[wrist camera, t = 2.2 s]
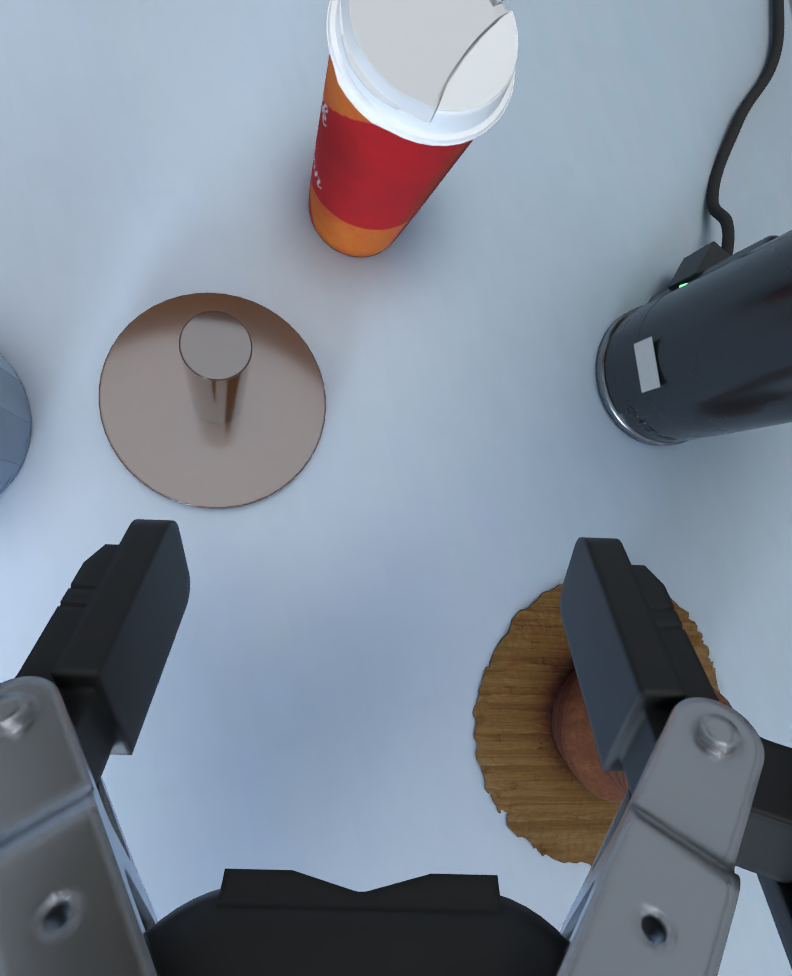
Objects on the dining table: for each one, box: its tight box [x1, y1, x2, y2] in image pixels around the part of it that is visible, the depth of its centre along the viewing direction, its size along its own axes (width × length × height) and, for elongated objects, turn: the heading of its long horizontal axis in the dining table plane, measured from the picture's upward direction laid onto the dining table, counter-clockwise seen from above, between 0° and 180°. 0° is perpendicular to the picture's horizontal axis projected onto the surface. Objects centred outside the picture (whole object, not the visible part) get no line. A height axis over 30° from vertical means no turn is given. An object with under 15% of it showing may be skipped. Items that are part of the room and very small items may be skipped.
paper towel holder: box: [99, 293, 326, 509], centre depth 27 cm, size 11×11×11 cm
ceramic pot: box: [473, 585, 732, 866], centre depth 35 cm, size 18×18×7 cm
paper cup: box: [309, 0, 518, 257], centre depth 29 cm, size 8×8×14 cm
